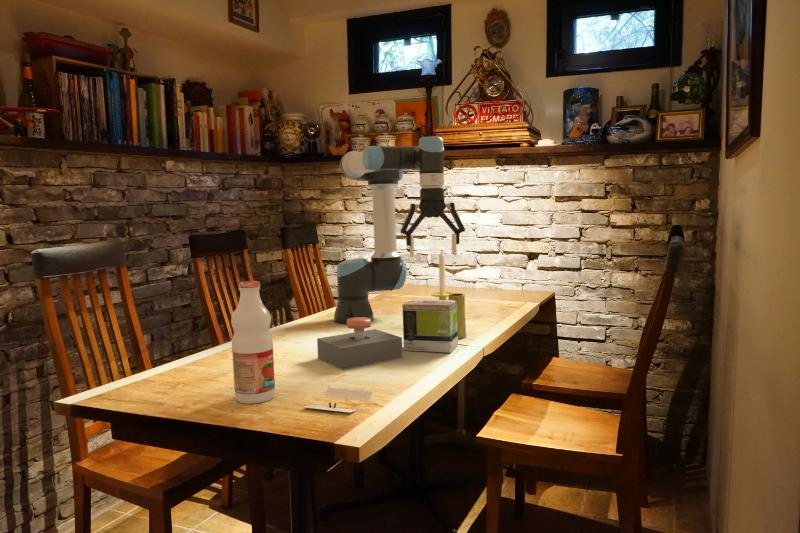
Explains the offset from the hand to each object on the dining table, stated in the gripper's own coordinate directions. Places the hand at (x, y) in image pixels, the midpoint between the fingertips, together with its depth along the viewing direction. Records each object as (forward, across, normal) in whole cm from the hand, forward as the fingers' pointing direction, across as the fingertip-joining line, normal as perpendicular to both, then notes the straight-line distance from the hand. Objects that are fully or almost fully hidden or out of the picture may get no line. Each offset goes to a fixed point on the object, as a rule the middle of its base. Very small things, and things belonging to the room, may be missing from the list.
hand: (433, 255), depth 193 cm
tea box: (+28, -2, -6) cm, 29 cm away
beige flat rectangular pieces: (+29, -33, -51) cm, 68 cm away
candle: (+28, +11, +36) cm, 47 cm away
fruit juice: (+28, -53, -43) cm, 74 cm away
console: (+28, -25, -12) cm, 40 cm away
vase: (+28, +9, +7) cm, 31 cm away
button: (+25, -25, -12) cm, 37 cm away
